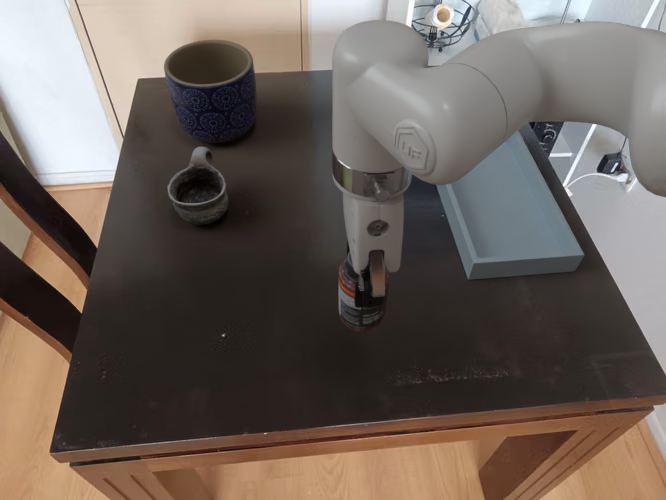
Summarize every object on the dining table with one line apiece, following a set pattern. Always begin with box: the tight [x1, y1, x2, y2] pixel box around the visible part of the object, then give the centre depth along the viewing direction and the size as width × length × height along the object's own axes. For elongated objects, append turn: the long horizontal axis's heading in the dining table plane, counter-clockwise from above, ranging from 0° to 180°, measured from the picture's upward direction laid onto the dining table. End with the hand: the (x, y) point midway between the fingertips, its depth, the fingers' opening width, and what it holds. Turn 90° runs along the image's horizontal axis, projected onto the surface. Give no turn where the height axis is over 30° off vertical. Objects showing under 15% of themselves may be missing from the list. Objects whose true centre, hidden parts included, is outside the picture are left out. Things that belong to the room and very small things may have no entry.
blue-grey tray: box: [435, 130, 585, 281], centre depth 96 cm, size 34×18×4 cm, turn 6°
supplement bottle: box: [337, 251, 390, 333], centre depth 64 cm, size 6×6×11 cm
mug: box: [167, 146, 229, 226], centre depth 92 cm, size 10×12×10 cm
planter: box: [163, 39, 258, 144], centre depth 105 cm, size 16×17×15 cm
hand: (364, 280), depth 63 cm, fingers closed on supplement bottle, 6 cm apart
